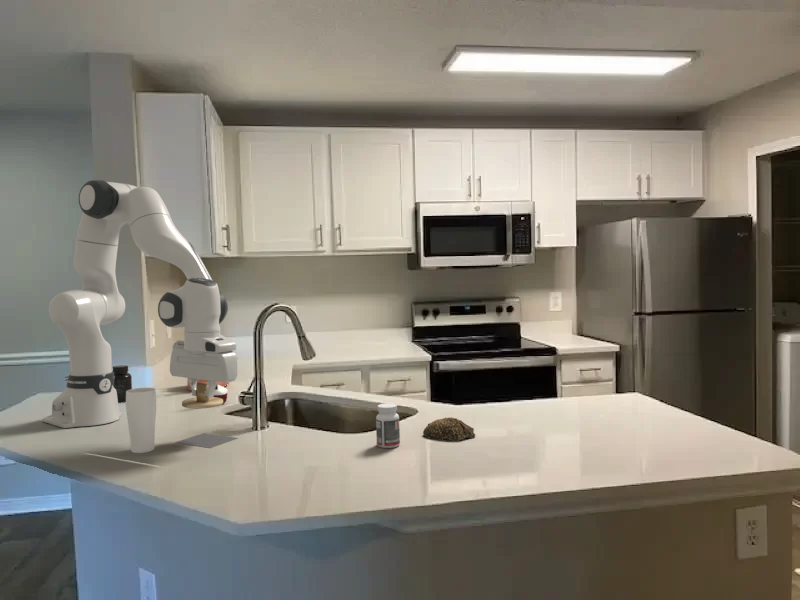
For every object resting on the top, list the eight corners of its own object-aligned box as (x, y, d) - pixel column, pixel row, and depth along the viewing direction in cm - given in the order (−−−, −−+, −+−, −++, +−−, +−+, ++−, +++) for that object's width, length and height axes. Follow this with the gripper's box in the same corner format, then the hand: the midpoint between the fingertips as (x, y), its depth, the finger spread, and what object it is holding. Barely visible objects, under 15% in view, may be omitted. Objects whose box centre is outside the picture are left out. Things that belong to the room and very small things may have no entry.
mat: (174, 444, 157) (174, 442, 157) (203, 434, 166) (203, 433, 166) (210, 449, 151) (210, 447, 151) (238, 439, 160) (238, 437, 160)
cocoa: (217, 402, 210) (216, 366, 210) (233, 402, 208) (232, 366, 208) (199, 407, 201) (198, 369, 201) (216, 407, 199) (215, 369, 199)
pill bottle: (403, 443, 154) (402, 403, 154) (395, 449, 149) (394, 408, 148) (381, 441, 156) (380, 402, 156) (373, 447, 151) (372, 407, 150)
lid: (173, 405, 156) (173, 384, 156) (203, 398, 165) (203, 378, 164) (201, 410, 151) (201, 388, 151) (231, 402, 160) (231, 382, 160)
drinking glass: (147, 456, 147) (144, 393, 146) (121, 454, 148) (119, 392, 147) (163, 448, 153) (161, 387, 153) (138, 447, 155) (136, 387, 154)
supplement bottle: (118, 398, 217) (116, 364, 216) (136, 399, 216) (135, 364, 215) (106, 402, 210) (105, 367, 209) (125, 403, 209) (123, 367, 208)
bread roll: (416, 436, 161) (416, 417, 161) (446, 427, 170) (446, 409, 170) (455, 445, 152) (455, 425, 152) (485, 435, 162) (484, 416, 161)
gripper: (163, 341, 159) (163, 394, 160) (223, 346, 150) (223, 403, 150) (182, 338, 165) (182, 390, 166) (241, 343, 155) (241, 398, 156)
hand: (202, 396), depth 158 cm, fingers closed on lid, 3 cm apart
